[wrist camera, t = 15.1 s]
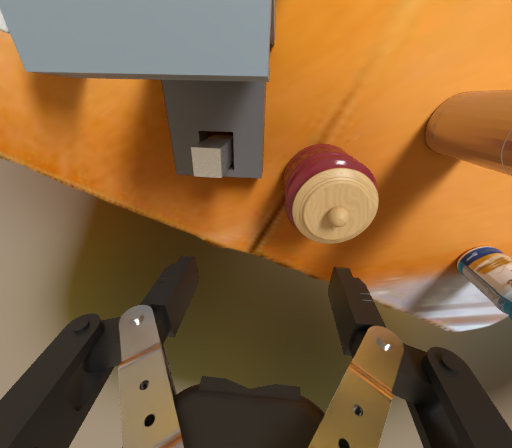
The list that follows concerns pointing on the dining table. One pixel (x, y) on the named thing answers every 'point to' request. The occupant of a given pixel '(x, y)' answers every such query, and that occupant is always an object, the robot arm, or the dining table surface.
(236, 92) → the socket
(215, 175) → the peg
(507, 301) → the beverage bottle
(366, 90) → the dining table surface
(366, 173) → the canister
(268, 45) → the coffee dispenser stand
